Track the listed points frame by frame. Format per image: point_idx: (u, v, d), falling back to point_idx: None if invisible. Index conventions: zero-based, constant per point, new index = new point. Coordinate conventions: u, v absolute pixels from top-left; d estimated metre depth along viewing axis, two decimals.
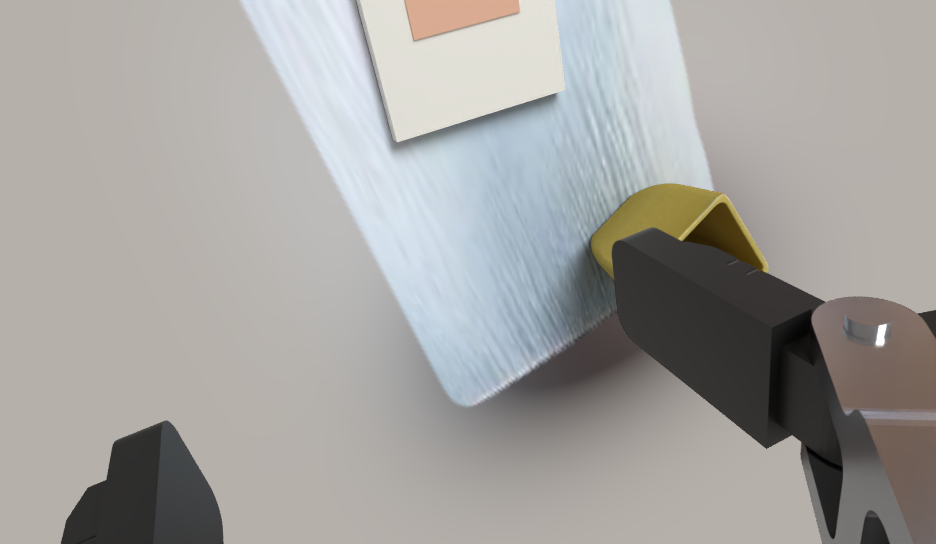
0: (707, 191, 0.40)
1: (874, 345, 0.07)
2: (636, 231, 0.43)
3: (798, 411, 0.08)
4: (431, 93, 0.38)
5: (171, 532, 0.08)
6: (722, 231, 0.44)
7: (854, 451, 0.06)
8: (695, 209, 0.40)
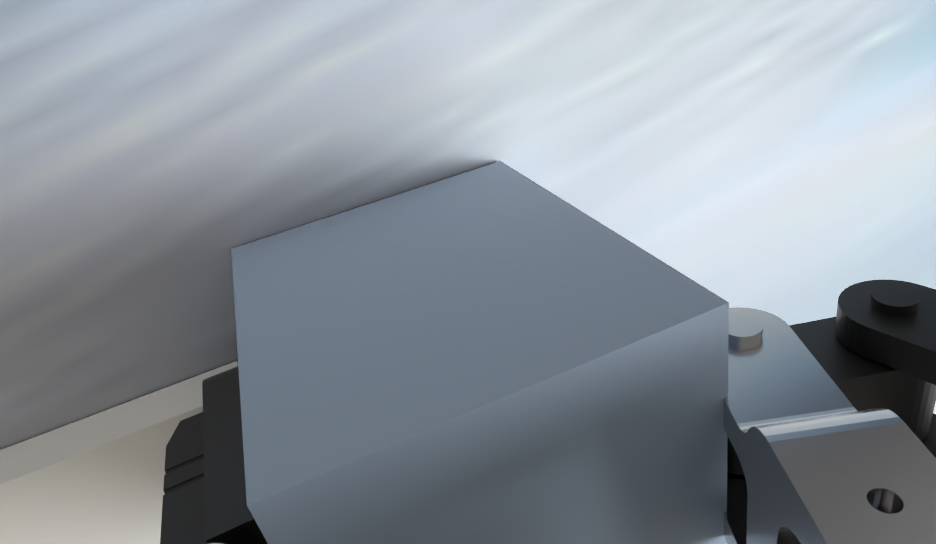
0: None
1: (741, 355, 0.07)
2: None
3: None
4: None
5: None
6: None
7: (757, 467, 0.06)
8: None
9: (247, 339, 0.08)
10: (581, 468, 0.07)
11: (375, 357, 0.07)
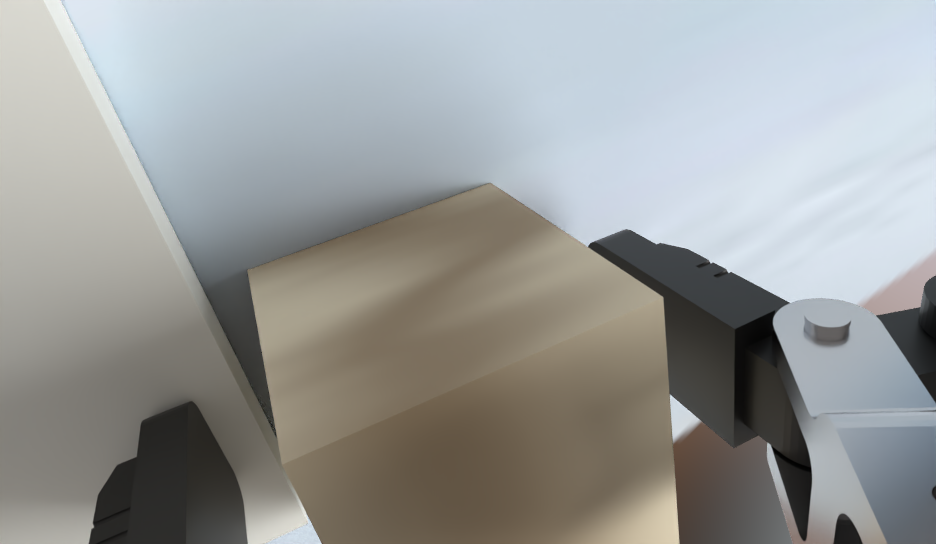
0: None
1: (831, 346, 0.07)
2: None
3: (763, 411, 0.08)
4: None
5: (201, 505, 0.08)
6: None
7: (822, 454, 0.06)
8: None
9: None
10: None
11: None
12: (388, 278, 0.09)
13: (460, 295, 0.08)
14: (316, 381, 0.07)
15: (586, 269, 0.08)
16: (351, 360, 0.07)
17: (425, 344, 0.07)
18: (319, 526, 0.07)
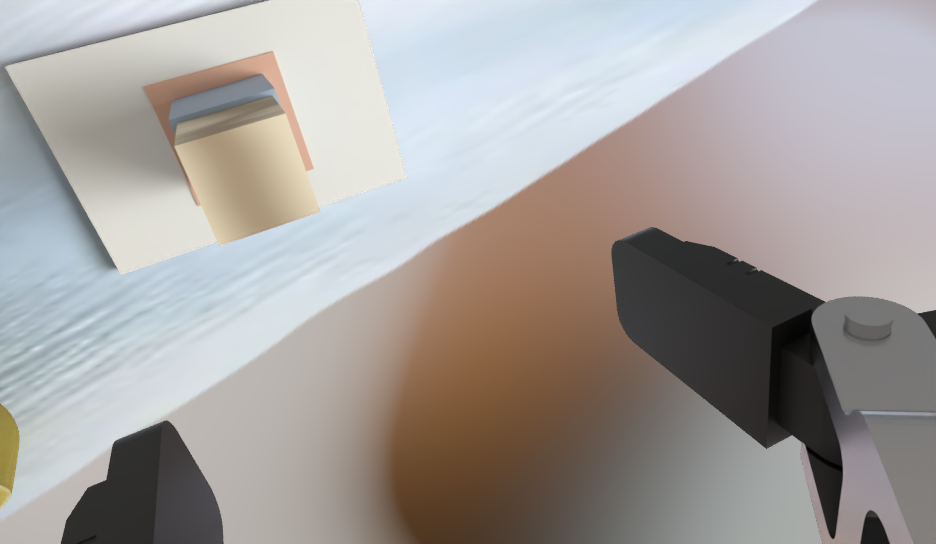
0: (12, 474, 0.31)
1: (874, 345, 0.07)
2: None
3: (799, 412, 0.08)
4: (82, 110, 0.32)
5: (171, 532, 0.08)
6: None
7: (854, 451, 0.06)
8: None
9: (172, 109, 0.31)
10: None
11: (200, 105, 0.30)
12: (220, 119, 0.27)
13: (237, 119, 0.26)
14: (188, 136, 0.25)
15: (274, 111, 0.26)
16: (199, 132, 0.25)
17: (220, 127, 0.25)
18: (185, 168, 0.25)
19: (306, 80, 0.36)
